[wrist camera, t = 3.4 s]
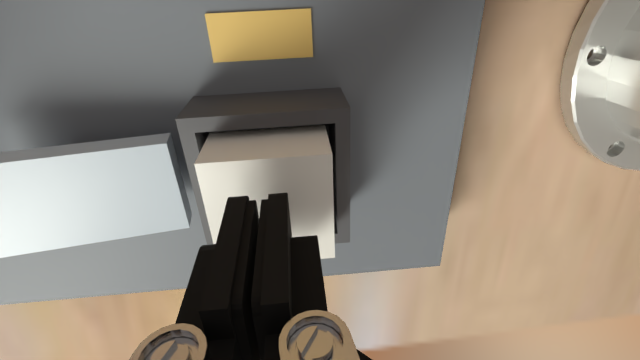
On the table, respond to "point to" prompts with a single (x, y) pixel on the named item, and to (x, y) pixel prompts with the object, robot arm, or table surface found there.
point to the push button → (272, 176)
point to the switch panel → (244, 115)
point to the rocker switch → (90, 193)
